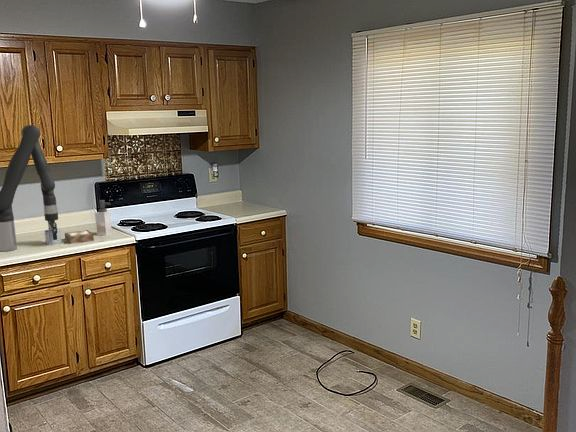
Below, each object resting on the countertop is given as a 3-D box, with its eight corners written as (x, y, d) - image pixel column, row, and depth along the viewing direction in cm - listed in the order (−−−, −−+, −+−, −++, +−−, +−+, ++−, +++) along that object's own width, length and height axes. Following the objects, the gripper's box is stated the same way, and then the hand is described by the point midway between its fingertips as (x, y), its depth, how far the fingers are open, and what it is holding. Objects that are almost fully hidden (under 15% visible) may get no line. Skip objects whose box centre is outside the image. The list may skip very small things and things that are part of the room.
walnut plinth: (70, 243, 348) (69, 237, 347) (65, 239, 359) (64, 232, 359) (93, 240, 355) (93, 233, 354) (88, 236, 367) (87, 229, 366)
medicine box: (58, 241, 354) (56, 227, 352) (61, 242, 351) (60, 228, 349) (45, 244, 348) (44, 230, 346) (49, 245, 345) (48, 231, 343)
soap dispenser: (109, 235, 367) (106, 201, 363) (97, 235, 370) (94, 201, 365) (115, 233, 373) (112, 199, 369) (103, 232, 376) (100, 199, 371)
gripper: (42, 211, 350) (45, 237, 353) (46, 214, 338) (49, 241, 341) (55, 209, 353) (58, 235, 357) (59, 213, 342) (62, 239, 345)
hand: (53, 238), depth 349 cm, fingers open, 8 cm apart
